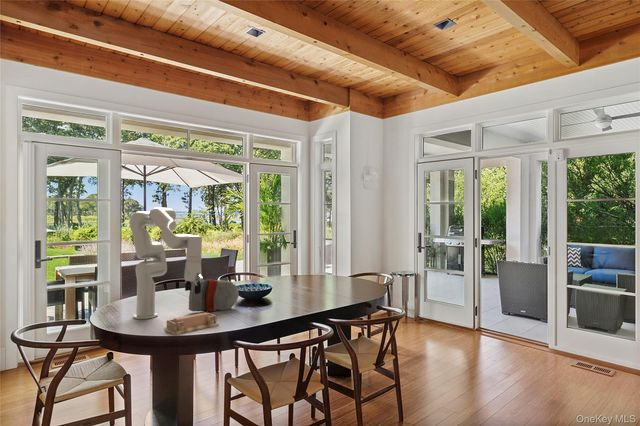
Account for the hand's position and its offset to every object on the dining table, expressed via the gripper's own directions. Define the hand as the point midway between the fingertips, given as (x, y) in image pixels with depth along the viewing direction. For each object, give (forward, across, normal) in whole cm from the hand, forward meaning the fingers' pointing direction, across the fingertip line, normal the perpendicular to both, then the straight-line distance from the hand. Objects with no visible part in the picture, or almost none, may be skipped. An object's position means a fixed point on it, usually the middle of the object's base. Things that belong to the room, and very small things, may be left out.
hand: (192, 291), depth 205 cm
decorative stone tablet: (+19, -23, +28) cm, 41 cm away
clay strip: (+17, 0, 0) cm, 17 cm away
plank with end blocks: (+18, +1, 0) cm, 18 cm away
